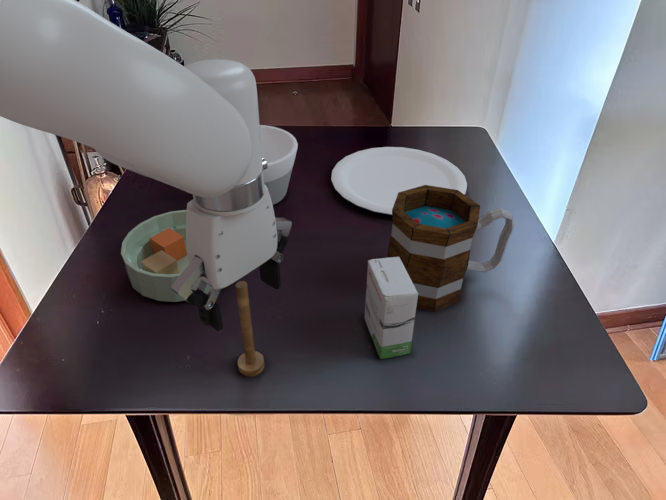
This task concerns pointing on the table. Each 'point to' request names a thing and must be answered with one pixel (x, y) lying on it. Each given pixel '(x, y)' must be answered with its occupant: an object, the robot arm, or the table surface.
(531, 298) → the table surface
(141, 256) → the stir bowl
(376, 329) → the ink box
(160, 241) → the orange block
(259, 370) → the stirrer
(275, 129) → the bowl
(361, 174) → the plate
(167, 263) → the maple block
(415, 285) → the mug
